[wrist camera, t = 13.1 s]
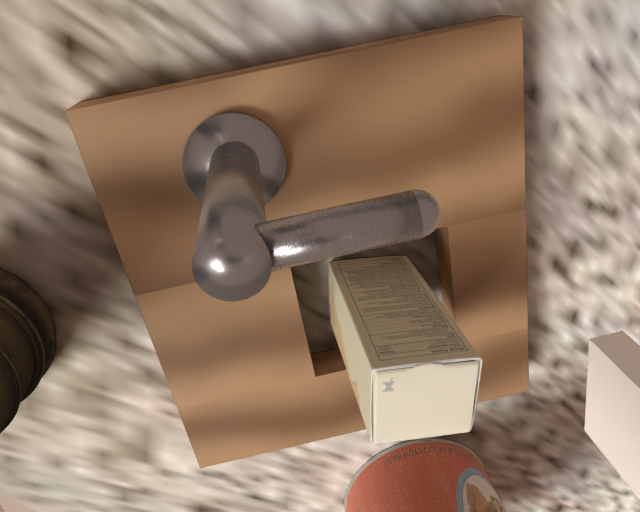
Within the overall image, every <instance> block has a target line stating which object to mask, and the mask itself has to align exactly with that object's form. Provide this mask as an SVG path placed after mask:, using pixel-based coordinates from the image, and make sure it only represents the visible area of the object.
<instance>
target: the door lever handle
mask: <svg viewBox="0 0 640 512" xmlns="http://www.w3.org/2000/svg"><path fill="white" fill-rule="evenodd" d="M182 165H183V172H184V177H185V179H186V182H187V184H188V186H189V188H190V189H191V191H192V192H193V194H194V195H195V196H196V197H197V198H198V199H199V200H200V201H201V202H203V203H202V209H201V215H200V220H199V226H198V231H197V237H196V242H195V248H194V253H193V259H192V272H193V276H194V279H195V281H196V283H197V284H198V286H199V287H200V288H201V289H202V290H203V291H204V292H205V293H207V294H208V295H210V296H211V297H213V298H216V299H219V300H222V301H230V302H234V301H242V300H245V299H248V298H250V297H252V296H254V295H256V294H257V293H259V292H260V291H261V290H262V289H263V288H264V287H265V285H266V284H267V282H268V280H269V278H270V275H271V272H272V271H277V270H281V269H286V268H290V267H295V266H299V265H304V264H308V263H313V262H317V261H322V260H326V259H331V258H335V257H340V256H344V255H349V254H353V253H358V252H362V251H367V250H371V249H376V248H380V247H385V246H389V245H394V244H398V243H403V242H407V241H412V240H416V239H420V238H423V237H426V236H428V235H430V234H431V233H432V232H433V231H434V230H435V229H436V228H437V226H438V224H439V221H440V217H441V212H440V207H439V204H438V202H437V200H436V199H435V198H434V197H433V196H432V195H431V194H430V193H428V192H426V191H423V190H417V189H414V190H408V191H403V192H398V193H394V194H389V195H385V196H380V197H376V198H371V199H366V200H362V201H357V202H353V203H348V204H344V205H339V206H334V207H330V208H325V209H321V210H316V211H312V212H307V213H302V214H298V215H293V216H289V217H284V218H280V219H275V220H271V221H267V220H266V212H265V204H267V203H268V202H269V201H270V200H271V199H272V198H273V197H274V196H275V195H276V194H277V192H278V191H279V189H280V187H281V185H282V183H283V180H284V177H285V171H286V159H285V153H284V150H283V147H282V144H281V142H280V139H279V138H278V136H277V134H276V133H275V132H274V131H273V129H272V128H271V127H270V126H269V125H268V124H267V123H265V122H264V121H263V120H261V119H259V118H257V117H256V116H253V115H251V114H247V113H244V112H236V111H229V112H222V113H218V114H215V115H213V116H210V117H209V118H207V119H205V120H204V121H202V122H201V123H200V124H199V125H198V126H197V127H196V128H195V129H194V130H193V132H192V133H191V134H190V136H189V138H188V140H187V143H186V145H185V148H184V152H183V160H182Z"/></svg>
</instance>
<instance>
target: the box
mask: <svg viewBox="0 0 640 512" xmlns="http://www.w3.org/2000/svg"><path fill="white" fill-rule="evenodd" d="M328 282H329V288H328V289H329V318H330V322H331V325H332V328H333V331H334V334H335V337H336V340H337V343H338V346H339V349H340V351H341V354H342V357H343V360H344V363H345V366H346V369H347V372H348V376H349V379H350V382H351V385H352V388H353V391H354V394H355V396H356V399H357V402H358V405H359V408H360V411H361V414H362V417H363V420H364V423H365V426H366V429H367V432H368V435H369V438H370V441H371V442H372V443H374V444H377V443H387V442H395V441H404V440H413V439H421V438H428V437H436V436H443V435H450V434H457V433H465V432H470V431H471V429H472V425H473V420H474V414H475V408H476V403H477V396H478V390H479V383H480V376H481V369H482V362H483V361H482V358H481V357H480V355H479V354H478V353H477V352H476V350H475V349H474V348H473V346H472V345H471V344H470V342H469V341H468V339H467V338H466V337H465V335H464V334H463V333H462V331H461V330H460V329H459V327H458V326H457V324H456V323H455V321H454V320H453V319H452V317H451V316H450V314H449V313H448V312H447V310H446V309H445V307H444V306H443V305H442V303H441V302H440V301H439V299H438V298H437V297H436V295H435V294H434V293H433V291H432V290H431V288H430V287H429V286H428V284H427V283H426V281H425V280H424V279H423V277H422V276H421V274H420V273H419V272H418V270H417V269H416V267H415V266H414V265H413V263H412V262H411V260H410V259H409V258H408V257H407V256H384V257H372V258H361V259H350V260H342V261H332V262H330V263H329V281H328Z"/></svg>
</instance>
